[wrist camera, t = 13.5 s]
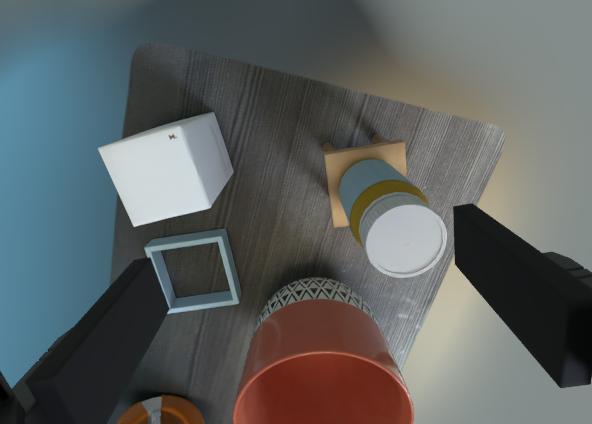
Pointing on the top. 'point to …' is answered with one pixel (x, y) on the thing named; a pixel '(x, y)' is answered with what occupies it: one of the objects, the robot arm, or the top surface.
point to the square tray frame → (202, 300)
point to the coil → (162, 412)
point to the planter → (320, 362)
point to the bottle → (391, 219)
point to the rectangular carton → (169, 168)
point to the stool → (345, 158)
